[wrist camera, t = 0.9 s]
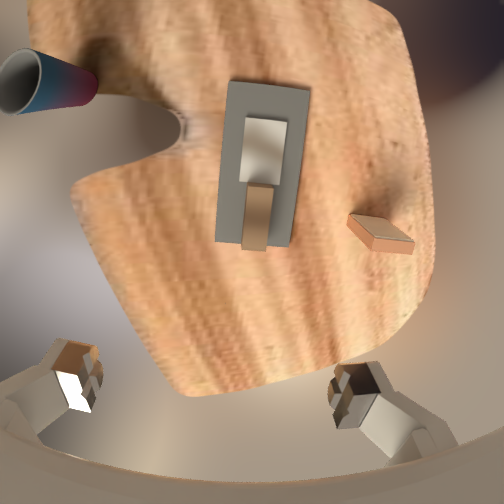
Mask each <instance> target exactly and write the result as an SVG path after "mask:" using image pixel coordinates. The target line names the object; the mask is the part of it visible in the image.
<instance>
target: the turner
mask: <svg viewBox="0 0 504 504" xmlns="http://www.w3.org/2000/svg"><path fill="white" fill-rule="evenodd" d="M286 127H287V122H282V121H274V120H266V119H256V118H245V128H244V137H243V147H242V157H241V167H240V177H239V181H241V182H247V188H246V197H245V207H244V217H243V228H242V238H241V246H242V250H251V251H265V252H266V246H267V238H268V230H269V223H270V215H271V207H272V199H273V191H274V188H273V186H272V185H271V184H273V185H279V184H280V176H281V168H282V160H283V152H284V144H285V135H286Z"/></svg>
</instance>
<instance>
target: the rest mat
mask: <svg viewBox="0 0 504 504" xmlns="http://www.w3.org/2000/svg"><path fill="white" fill-rule="evenodd" d="M309 96H310V91H307V90H301V89H295V88H288V87H281V86H274V85H266V84H257V83H247V82H236V81H229V83H228V92H227V101H226V111H225V121H224V131H223V142H222V153H221V164H220V176H219V189H218V202H217V216H216V231H215V242H225V243H238V244H241V238H242V228H243V217H244V207H245V197H246V188H247V182H241V181H239V177H240V167H241V157H242V147H243V137H244V128H245V118H256V119H266V120H274V121H282V122H287V127H286V135H285V144H284V152H283V160H282V168H281V176H280V184H279V185H273V184H271V185H272V186H273V188H274V191H273V199H272V207H271V215H270V223H269V230H268V238H267V246H277V247H289V242H290V236H291V229H292V223H293V216H294V210H295V203H296V196H297V189H298V182H299V175H300V168H301V160H302V153H303V145H304V137H305V129H306V121H307V113H308V105H309Z"/></svg>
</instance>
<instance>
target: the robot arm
mask: <svg viewBox="0 0 504 504" xmlns="http://www.w3.org/2000/svg"><path fill="white" fill-rule="evenodd" d="M98 356H99V351H98V348H97V347H96V346H94V345H90V344H85V343H81V342H76V341H72V340H66V339H63V338H58V339H56V340H55V341H54V343H53V344H52V346H51V347H50V349H49V350H48V352H47V353H46V355H45V356H44V358H43V359H42V361H41V362H40V364H39V365H38V366H36V365H34V366H32V367H30V368H29V369H26V370H24V371H22V372H20V373H18V374H16V375H14V376H12V377H10V378H9V379H6V380H4V381H2V382H0V504H504V426H503V427H501V428H499V429H497V430H495V431H493V432H490V433H488V434H486V435H484V436H481V437H479V438H477V439H474V440H472V441H469V442H467V443H464V444H461V445H458V443H457V441H456V439H455V437H454V436H453V434H452V432H451V430H450V428H449V427H448V425H447V423H446V421H444V420H442V419H441V418H439V417H438V416H436V415H435V414H432V413H431V412H430V411H428V410H427V409H425V408H423V407H422V406H420V405H418V404H417V403H416V402H414V401H412V400H411V399H409V398H408V397H406V396H405V395H403V394H402V393H400V392H395V391H394V389H393V387H392V385H391V383H390V382H389V380H388V378H387V376H386V374H385V372H384V370H383V369H382V367H381V365H380V363H379V362H377V361H373V362H360V363H339V364H337V366H336V367H335V370H334V374H335V377H334V378H333V379H332V380H331V381H330V383H329V386H328V394H327V395H328V401H329V405H330V406H331V407H332V408H333V409H335V411H334V413H333V418H334V421H335V424H336V428H337V429H347V428H358V427H359V429H360V430H361V431H362V432H363V433H364V434H365V435H366V436H367V437H368V438H369V439H371V440H372V441H373V442H374V443H375V444H376V445H377V446H378V447H379V448H380V449H381V450H382V451H383V452H385V453H386V454H387V455H388V456H389V457H390V458H391V459H390V460H389V462H388V463H387V464H386V465H385V466H384V468H381V469H376V470H371V471H366V472H361V473H355V474H349V475H343V476H336V477H328V478H320V479H310V480H299V481H283V482H219V481H204V480H191V479H182V478H174V477H166V476H159V475H153V474H147V473H141V472H136V471H131V470H126V469H121V468H116V467H113V466H108V465H104V464H100V463H97V462H93V461H89V460H86V459H82V458H79V457H76V456H72V455H69V454H66V453H63V452H60V451H57V450H54V449H51V448H49V447H46V446H43V444H42V443H41V441H40V440H39V438H38V437H37V434H38V433H39V432H40V431H41V430H43V429H44V428H45V427H47V426H48V425H49V424H50V423H52V422H53V421H54V420H56V419H57V418H58V417H59V416H61V415H62V414H63V413H64V412H66V411H67V410H68V409H69V407H71V408H74V409H79V410H83V411H87V412H91V410H92V407H93V405H94V403H95V400H96V396H95V392H96V391H98V390H100V388H101V385H102V381H103V367H102V364H101V363H100V362H99V361H98V360H97V359H98Z"/></svg>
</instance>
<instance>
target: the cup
mask: <svg viewBox="0 0 504 504" xmlns="http://www.w3.org/2000/svg"><path fill="white" fill-rule="evenodd" d="M97 88H98V82H97V79H96V77H95V75H94V74H93V73H91V72H89V71H86V70H84V69H82V68H79V67H77V66H74V65H72V64H69V63H67V62H64V61H62V60H59V59H57V58H54V57H51V56H49V55H46V54H43V53H41V52H38V51H35V50H32V49H29V48H23V49H20V50H17V51H15V52H14V53H12V54H11V55H10V56H9V57H8V58H7V59H6V60H5V61H4V63H3V64H2V65H1V67H0V112H1V113H3V114H5V115H8V116H13V115H18V114H24V113H30V112H36V111H42V110H49V109H57V108H65V107H74V106H83V105H86V104H87V103H89V102H90V101H91V100H92V99H93V98H94V96H95V94H96V92H97Z"/></svg>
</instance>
